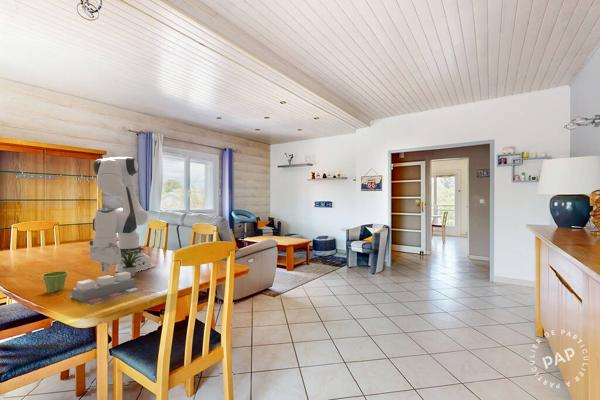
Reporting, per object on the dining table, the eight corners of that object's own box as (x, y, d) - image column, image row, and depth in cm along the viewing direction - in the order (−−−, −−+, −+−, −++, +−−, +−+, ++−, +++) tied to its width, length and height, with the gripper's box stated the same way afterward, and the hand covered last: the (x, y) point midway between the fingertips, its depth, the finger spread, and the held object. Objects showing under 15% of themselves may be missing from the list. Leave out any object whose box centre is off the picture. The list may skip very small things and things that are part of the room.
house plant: (129, 282, 151) (129, 252, 151) (107, 280, 153) (107, 251, 153) (148, 275, 165) (148, 247, 165) (127, 273, 167) (128, 246, 167)
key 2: (124, 281, 143) (124, 271, 143) (130, 282, 141) (130, 272, 141) (114, 283, 139) (114, 273, 139) (120, 285, 136) (120, 275, 136)
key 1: (89, 290, 129) (89, 279, 129) (95, 292, 127) (95, 281, 127) (76, 293, 125) (76, 282, 124) (82, 295, 122) (82, 283, 122)
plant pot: (46, 296, 129) (46, 277, 128) (38, 292, 134) (39, 274, 133) (70, 290, 137) (71, 273, 136) (63, 287, 142) (63, 270, 141)
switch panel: (120, 285, 147) (120, 275, 146) (144, 291, 137) (144, 281, 137) (67, 298, 126) (67, 287, 126) (91, 307, 117) (91, 295, 117)
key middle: (107, 285, 136) (108, 275, 136) (113, 287, 134) (113, 276, 134) (96, 288, 132) (96, 277, 132) (102, 290, 129) (102, 279, 129)
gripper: (125, 243, 130) (124, 273, 130) (101, 239, 140) (100, 267, 140) (110, 245, 125) (110, 276, 125) (86, 241, 134) (86, 269, 134)
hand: (105, 271), depth 132 cm, fingers closed
